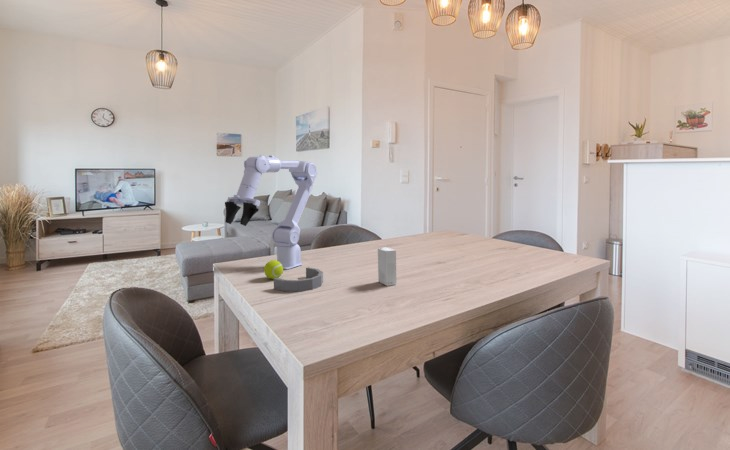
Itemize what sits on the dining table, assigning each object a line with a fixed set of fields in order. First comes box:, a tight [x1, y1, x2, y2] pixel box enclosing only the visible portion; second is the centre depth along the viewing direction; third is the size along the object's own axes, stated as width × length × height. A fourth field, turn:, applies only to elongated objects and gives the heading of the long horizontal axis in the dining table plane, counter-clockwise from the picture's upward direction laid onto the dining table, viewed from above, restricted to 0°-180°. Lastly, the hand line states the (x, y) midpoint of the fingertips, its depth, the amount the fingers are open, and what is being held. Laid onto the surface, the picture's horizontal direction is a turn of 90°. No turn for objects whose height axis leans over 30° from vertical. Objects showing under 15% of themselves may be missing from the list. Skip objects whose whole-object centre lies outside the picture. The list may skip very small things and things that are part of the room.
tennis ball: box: [263, 259, 284, 280], centre depth 134 cm, size 7×7×7 cm
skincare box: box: [377, 246, 397, 287], centre depth 129 cm, size 6×4×12 cm
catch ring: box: [273, 266, 324, 293], centre depth 127 cm, size 17×11×4 cm, turn 148°
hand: (235, 224), depth 128 cm, fingers open, 7 cm apart
